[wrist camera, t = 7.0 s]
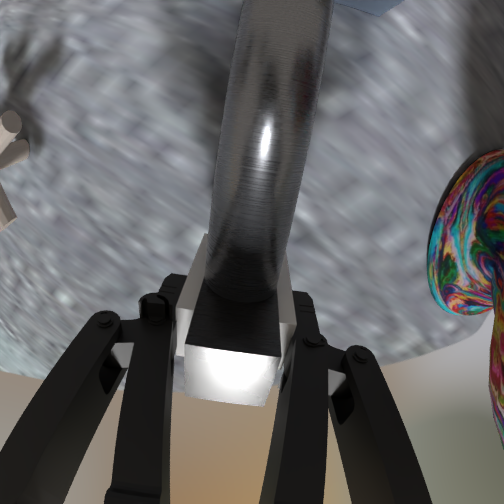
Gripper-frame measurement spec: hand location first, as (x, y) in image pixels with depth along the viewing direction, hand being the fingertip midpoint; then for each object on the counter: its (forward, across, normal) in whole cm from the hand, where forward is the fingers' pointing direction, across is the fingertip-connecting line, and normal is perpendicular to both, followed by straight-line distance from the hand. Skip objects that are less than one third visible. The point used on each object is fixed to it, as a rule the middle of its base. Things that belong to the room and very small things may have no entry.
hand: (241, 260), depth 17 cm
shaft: (0, 0, +10) cm, 10 cm away
